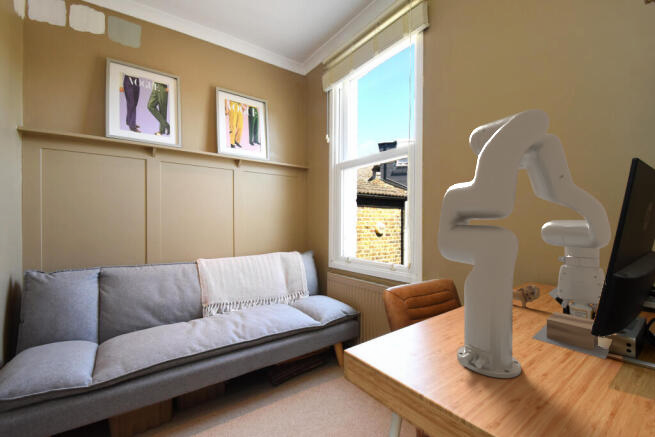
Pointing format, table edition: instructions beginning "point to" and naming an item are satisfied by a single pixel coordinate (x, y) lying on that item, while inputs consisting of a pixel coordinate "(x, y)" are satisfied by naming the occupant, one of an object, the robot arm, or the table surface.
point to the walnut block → (571, 330)
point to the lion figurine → (526, 294)
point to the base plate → (595, 352)
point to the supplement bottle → (581, 310)
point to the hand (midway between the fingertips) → (581, 322)
